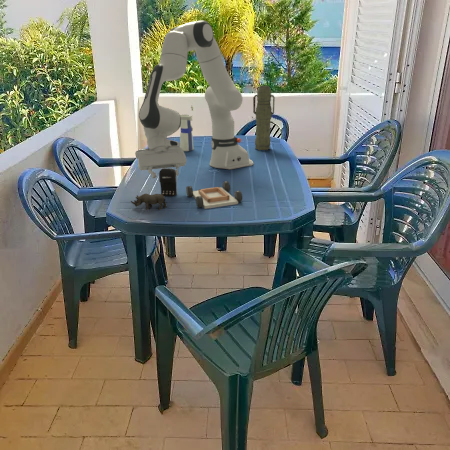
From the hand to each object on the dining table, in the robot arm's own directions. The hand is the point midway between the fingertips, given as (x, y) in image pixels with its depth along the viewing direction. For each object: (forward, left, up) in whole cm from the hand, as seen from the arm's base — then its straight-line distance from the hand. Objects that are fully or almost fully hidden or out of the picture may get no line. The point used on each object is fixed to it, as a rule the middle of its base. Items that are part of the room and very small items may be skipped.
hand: (165, 176), depth 182 cm
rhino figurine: (+10, +12, -8) cm, 18 cm away
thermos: (-71, -54, -8) cm, 90 cm away
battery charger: (0, +2, -8) cm, 8 cm away
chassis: (-16, +13, -8) cm, 22 cm away
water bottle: (-30, -70, -8) cm, 77 cm away
